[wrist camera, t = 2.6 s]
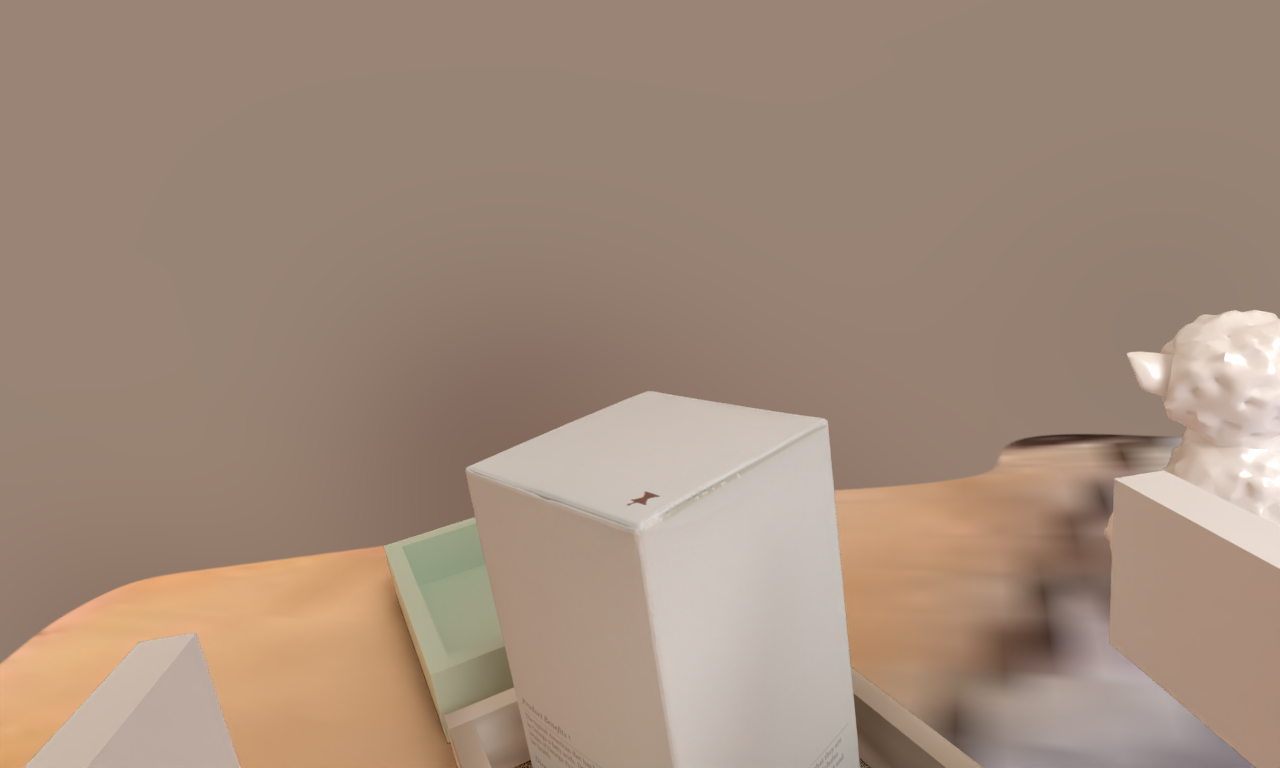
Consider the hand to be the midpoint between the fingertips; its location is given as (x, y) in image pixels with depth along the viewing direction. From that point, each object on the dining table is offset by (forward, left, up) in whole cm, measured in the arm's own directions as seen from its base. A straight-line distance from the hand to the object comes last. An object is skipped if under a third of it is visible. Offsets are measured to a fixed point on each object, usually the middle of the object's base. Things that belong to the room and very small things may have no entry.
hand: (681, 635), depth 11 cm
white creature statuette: (-26, -6, -13) cm, 30 cm away
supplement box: (-4, -9, -13) cm, 17 cm away
